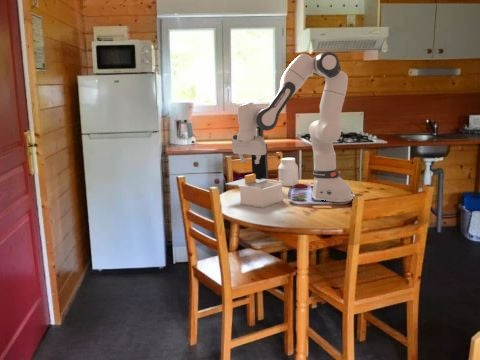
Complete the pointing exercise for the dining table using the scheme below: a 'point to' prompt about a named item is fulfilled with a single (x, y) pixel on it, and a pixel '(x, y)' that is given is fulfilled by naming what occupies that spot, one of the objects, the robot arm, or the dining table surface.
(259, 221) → the dining table surface
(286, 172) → the jar
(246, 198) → the carton
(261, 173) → the black tall block
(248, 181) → the lid
